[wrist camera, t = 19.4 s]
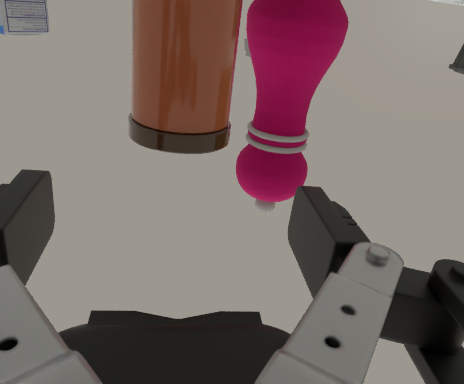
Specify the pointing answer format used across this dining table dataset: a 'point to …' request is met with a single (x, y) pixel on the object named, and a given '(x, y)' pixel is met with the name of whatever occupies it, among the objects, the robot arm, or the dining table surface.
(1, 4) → the medicine box
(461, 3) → the dining table surface
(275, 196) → the pepper mill
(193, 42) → the spice jar
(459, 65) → the bundt pan
